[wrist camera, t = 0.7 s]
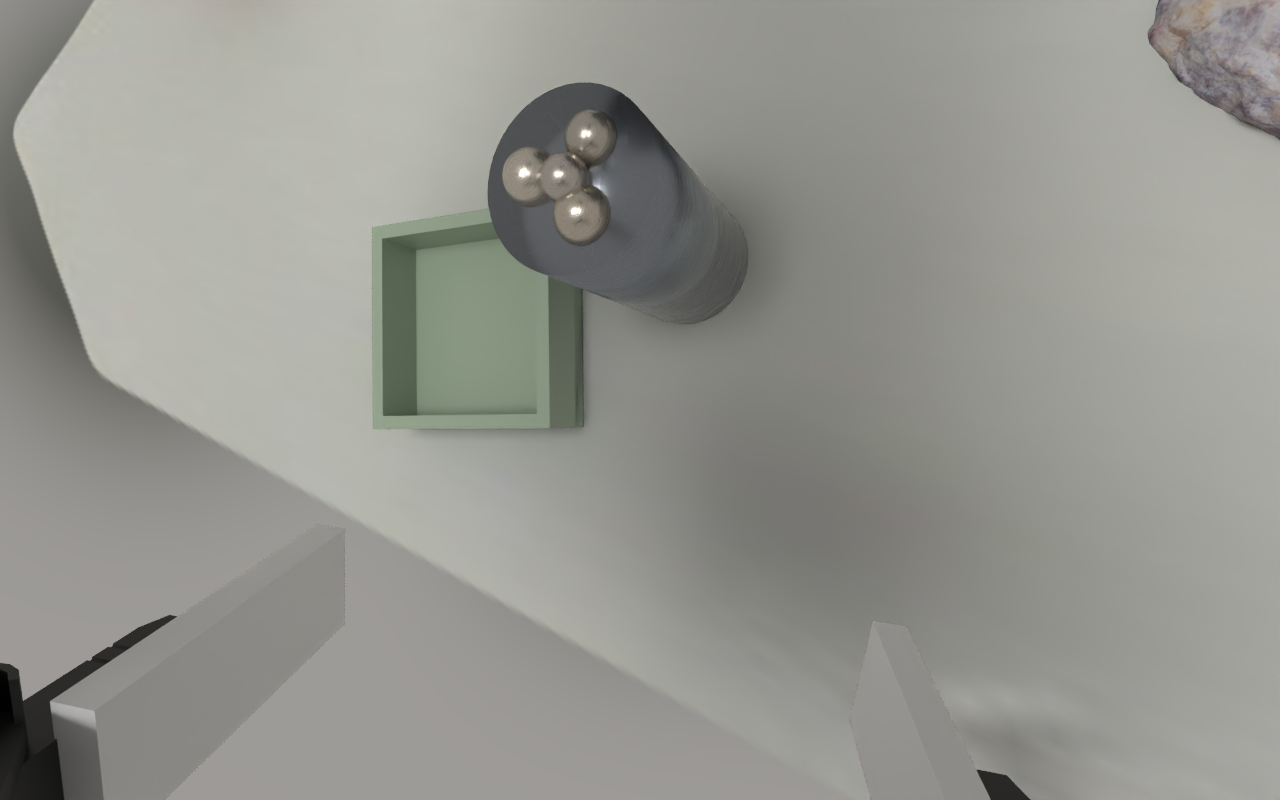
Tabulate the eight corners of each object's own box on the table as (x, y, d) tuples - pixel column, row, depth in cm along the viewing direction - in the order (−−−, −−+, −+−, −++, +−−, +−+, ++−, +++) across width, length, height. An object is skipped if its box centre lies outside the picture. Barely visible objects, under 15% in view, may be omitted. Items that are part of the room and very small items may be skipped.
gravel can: (629, 209, 37) (462, 85, 23) (746, 192, 35) (640, 40, 20) (631, 327, 37) (463, 276, 23) (748, 319, 35) (643, 255, 20)
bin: (417, 242, 43) (372, 227, 40) (581, 219, 39) (547, 199, 35) (418, 427, 43) (372, 429, 39) (583, 426, 38) (549, 428, 35)
